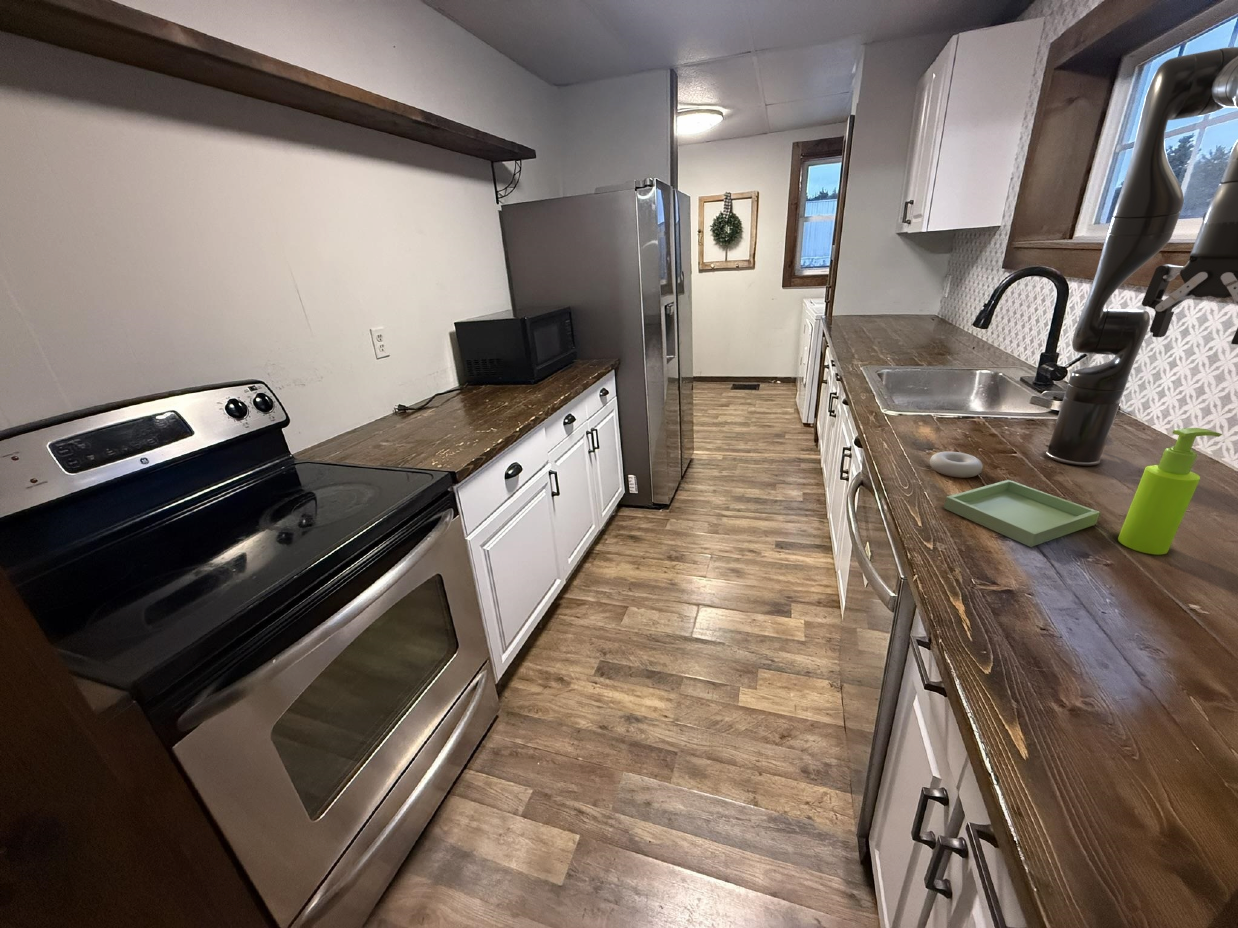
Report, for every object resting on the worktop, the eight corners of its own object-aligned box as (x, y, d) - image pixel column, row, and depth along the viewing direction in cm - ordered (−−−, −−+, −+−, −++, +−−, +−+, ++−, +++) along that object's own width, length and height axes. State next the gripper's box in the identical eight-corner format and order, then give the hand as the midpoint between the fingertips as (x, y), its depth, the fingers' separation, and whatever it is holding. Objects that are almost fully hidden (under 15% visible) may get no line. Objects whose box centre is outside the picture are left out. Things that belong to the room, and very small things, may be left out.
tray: (1005, 490, 102) (1008, 479, 101) (1096, 524, 88) (1100, 511, 87) (943, 508, 96) (946, 496, 95) (1030, 547, 83) (1034, 534, 82)
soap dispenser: (1185, 553, 79) (1239, 435, 71) (1140, 555, 79) (1190, 437, 72) (1149, 534, 84) (1196, 423, 77) (1107, 536, 85) (1150, 424, 77)
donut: (937, 479, 108) (989, 480, 106) (940, 465, 107) (993, 466, 105) (921, 462, 117) (969, 463, 115) (924, 448, 116) (972, 449, 114)
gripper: (1342, 213, 62) (1281, 344, 69) (1187, 221, 74) (1148, 332, 81) (1314, 215, 60) (1253, 350, 66) (1159, 223, 72) (1120, 337, 78)
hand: (1195, 340), depth 73 cm, fingers open, 8 cm apart
